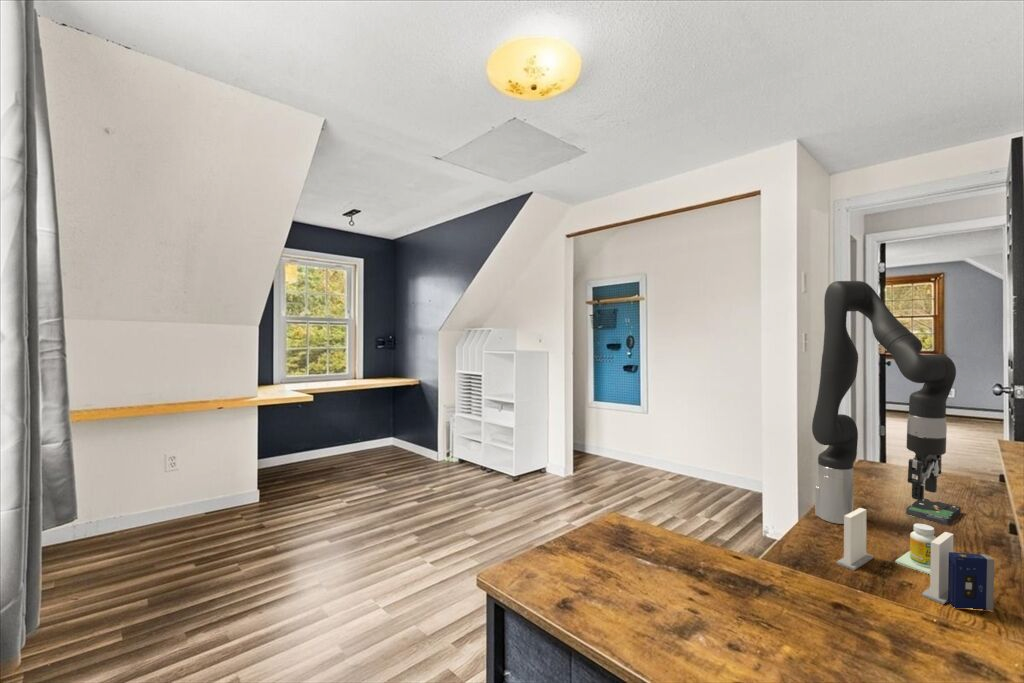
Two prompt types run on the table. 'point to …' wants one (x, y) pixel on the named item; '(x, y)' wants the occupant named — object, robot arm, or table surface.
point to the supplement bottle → (921, 544)
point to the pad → (911, 563)
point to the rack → (858, 556)
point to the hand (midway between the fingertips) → (924, 495)
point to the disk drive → (934, 511)
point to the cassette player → (971, 581)
